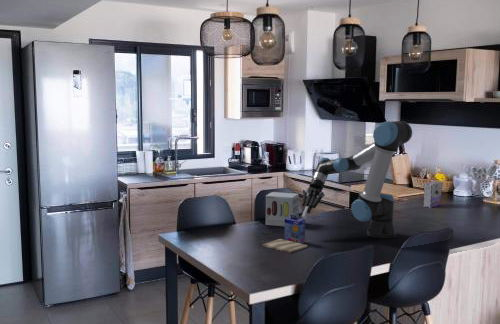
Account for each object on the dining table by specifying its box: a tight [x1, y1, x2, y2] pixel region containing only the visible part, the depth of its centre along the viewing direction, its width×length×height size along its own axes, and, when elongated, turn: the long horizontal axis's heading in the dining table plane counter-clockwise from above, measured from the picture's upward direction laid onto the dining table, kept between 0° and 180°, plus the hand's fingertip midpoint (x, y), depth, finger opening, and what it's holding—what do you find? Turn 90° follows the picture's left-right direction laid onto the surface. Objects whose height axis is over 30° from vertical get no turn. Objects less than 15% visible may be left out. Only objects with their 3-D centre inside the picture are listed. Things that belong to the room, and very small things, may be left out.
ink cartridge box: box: [284, 215, 306, 244], centre depth 267 cm, size 10×6×14 cm, turn 51°
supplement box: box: [265, 191, 300, 228], centre depth 306 cm, size 17×13×18 cm
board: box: [261, 238, 308, 254], centre depth 259 cm, size 18×14×1 cm
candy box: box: [422, 181, 443, 209], centre depth 355 cm, size 14×6×16 cm, turn 130°
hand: (303, 217), depth 273 cm, fingers closed
